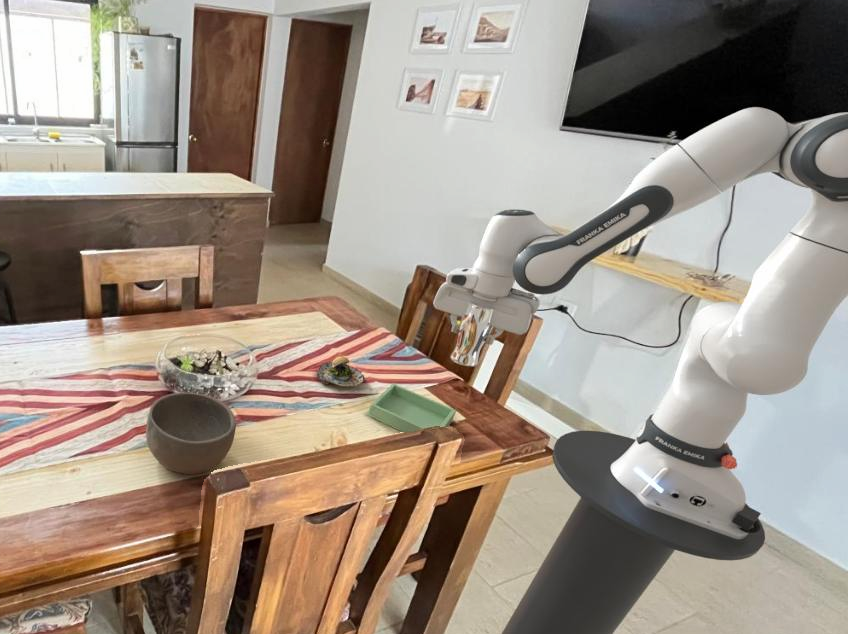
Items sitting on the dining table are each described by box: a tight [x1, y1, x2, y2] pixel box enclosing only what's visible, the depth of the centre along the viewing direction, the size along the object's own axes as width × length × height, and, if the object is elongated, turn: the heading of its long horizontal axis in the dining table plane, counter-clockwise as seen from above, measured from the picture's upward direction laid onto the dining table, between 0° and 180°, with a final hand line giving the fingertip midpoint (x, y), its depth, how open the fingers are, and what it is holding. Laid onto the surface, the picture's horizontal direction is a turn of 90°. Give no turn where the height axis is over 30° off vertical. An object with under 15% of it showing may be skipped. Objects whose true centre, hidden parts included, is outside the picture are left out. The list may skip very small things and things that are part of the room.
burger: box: [316, 355, 366, 388], centre depth 133 cm, size 12×12×8 cm
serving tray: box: [367, 382, 457, 434], centre depth 121 cm, size 16×14×3 cm
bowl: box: [145, 391, 237, 475], centre depth 100 cm, size 17×18×10 cm
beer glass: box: [449, 301, 495, 368], centre depth 120 cm, size 7×7×15 cm
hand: (471, 337), depth 121 cm, fingers closed on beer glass, 6 cm apart
